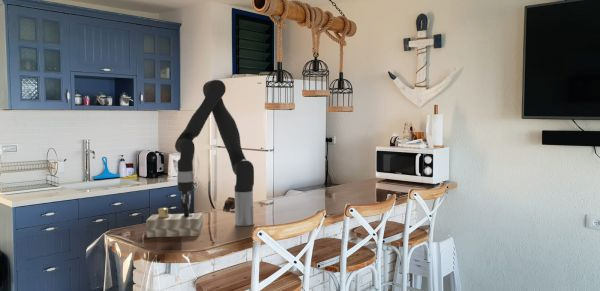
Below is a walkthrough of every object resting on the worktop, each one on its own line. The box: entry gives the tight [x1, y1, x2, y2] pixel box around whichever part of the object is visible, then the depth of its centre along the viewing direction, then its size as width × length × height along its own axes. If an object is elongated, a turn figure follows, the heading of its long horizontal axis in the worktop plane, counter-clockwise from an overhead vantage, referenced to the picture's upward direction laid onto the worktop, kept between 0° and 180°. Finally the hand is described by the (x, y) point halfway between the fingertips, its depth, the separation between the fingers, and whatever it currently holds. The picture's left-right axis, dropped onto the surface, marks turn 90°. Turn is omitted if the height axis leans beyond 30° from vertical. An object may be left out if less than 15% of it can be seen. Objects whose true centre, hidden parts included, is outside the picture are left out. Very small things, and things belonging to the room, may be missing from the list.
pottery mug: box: [222, 196, 235, 212], centre depth 281 cm, size 12×9×8 cm
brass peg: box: [157, 207, 169, 218], centre depth 227 cm, size 4×4×7 cm
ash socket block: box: [145, 212, 204, 238], centre depth 228 cm, size 24×12×8 cm, turn 93°
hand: (186, 216), depth 228 cm, fingers closed
